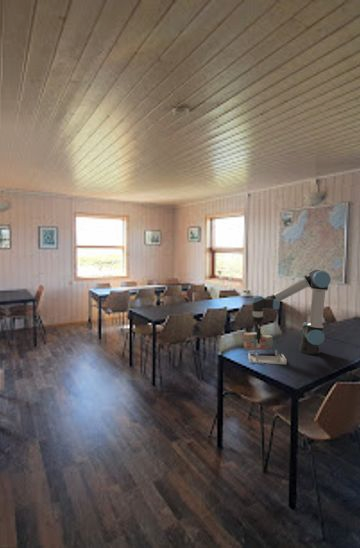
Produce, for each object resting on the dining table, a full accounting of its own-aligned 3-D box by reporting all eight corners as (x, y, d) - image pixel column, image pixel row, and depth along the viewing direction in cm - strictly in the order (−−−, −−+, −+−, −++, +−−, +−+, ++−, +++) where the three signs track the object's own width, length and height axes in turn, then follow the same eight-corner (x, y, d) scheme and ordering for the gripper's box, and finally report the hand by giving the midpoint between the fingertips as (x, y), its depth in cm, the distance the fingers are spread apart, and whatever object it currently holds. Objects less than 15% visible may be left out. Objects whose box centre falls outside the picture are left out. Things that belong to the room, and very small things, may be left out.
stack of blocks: (269, 346, 252) (269, 331, 251) (273, 348, 246) (273, 333, 245) (243, 348, 247) (243, 332, 247) (246, 351, 241) (246, 334, 240)
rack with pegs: (282, 358, 237) (282, 349, 236) (286, 364, 224) (286, 355, 223) (247, 356, 239) (248, 348, 239) (250, 362, 226) (250, 354, 226)
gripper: (251, 313, 255) (251, 342, 257) (254, 319, 235) (254, 349, 237) (260, 313, 254) (260, 342, 256) (264, 319, 234) (264, 350, 236)
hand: (257, 345), depth 246 cm, fingers closed on stack of blocks, 7 cm apart
